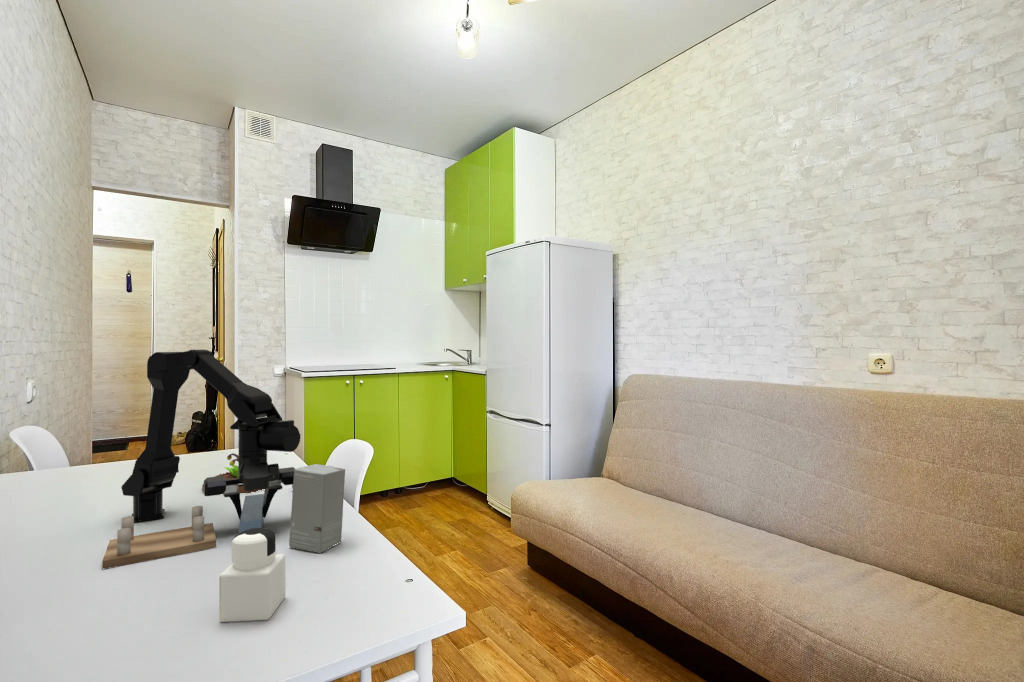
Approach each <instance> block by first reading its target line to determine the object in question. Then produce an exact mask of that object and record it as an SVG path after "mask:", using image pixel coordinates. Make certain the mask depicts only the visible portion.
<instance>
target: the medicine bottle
mask: <svg viewBox="0 0 1024 682" xmlns="http://www.w3.org/2000/svg"><path fill="white" fill-rule="evenodd" d="M276 535H277V533H276V532H275V531H274V530H273V529H271V528H267V527H262V528H253V529H248V530H245V531H242V532H241V533H239V532H238V533H237V534H235V535H234V537H233V538H232V539H231V565H229V566H228V567H227V568H226V569H225V570H224V571H223V572H222V573H221V574H219V622H221V623H232V622H233V623H234V622H252V621H268V620H270V618H271V617H272V616H273V614H275V611H276V610H277V609H278V608H279V606H280V605H281V604H282V602H283V601H284V599H285V597H286V554H285V553H276V548H277V545H276V542H277V541H276V540H277V539H276Z"/></svg>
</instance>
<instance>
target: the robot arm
mask: <svg viewBox="0 0 1024 682" xmlns="http://www.w3.org/2000/svg"><path fill="white" fill-rule="evenodd" d="M191 370H194V371H195V372H197V373H198V375H200V377H202V378H203V379H204V380H205V381H206V382H207V383H209V384H210V385H211V386H212V387H213V388H214V389H215V390H216V391H217V392H219V393H220V394H221V395H222V396H223V397H224V399H225V400H226V404H227V407H228V409H229V410H230V412H231V413H232V414H233V415H234V417H235V418H236V421H235V422H234V423H233V424H231V425H230V428H229V429H230V430H238V456H239V463H238V462H237V466H238V478H235V479H227V480H226V479H225V476H217V475H215V476H216V477H214V476H211V477H206V478H205V479H204V480H203V483H204V494H203V495H204V497H211V496H221V495H220V494H223V495H222V496H223V497H224V498H230V500H231V502H232V504H233V506H234V507H235V511H236V514H237V517H238V520H239V521H240V518H241V513H242V509H243V508H242V501H241V496H240V495H241V494H240V493H239V491H238V487H241V486H244V490H245V491H252V490H256V489H265V490H263V491H264V493H263V494H264V501H263V519H264V518H265V519H266V516H267V515H268V512H269V508H270V506H271V503H272V500H273V498H274V497H275V494H276V493H277V492H278V491H279V490H282V489H283V485H284V486H289V485H290V486H292V484H293V481H294V469H296V468H295V467H293V466H291V467H283V468H282V467H281V468H280V467H279V463H278V462H277V463H271V464H268V451H272V452H285V453H286V452H287V453H291V452H292V453H293V452H294V451H295V450H296V449H298V447H299V444H300V441H301V433H300V431H299V428H298V427H297V426H296V425H295V421H294V419H289V420H283V418H282V416H281V414H280V413H279V411H278V410H277V408H276V406H275V405H274V403H273V398H272V397H271V396H270V395H269V394H268V393H266V392H265V391H263V390H261V389H260V388H258V387H255V386H252V385H249V384H247V383H245V382H244V381H243V380H241V379H240V378H239V377H238V376H237V375H236V374H235V373H233V372H232V370H230V369H229V368H227V367H226V365H224V364H223V363H222V362H220V360H218V358H217V357H215V356H214V355H213V353H212V351H210V350H208V349H190V350H186V351H156V352H153V354H151V355H150V356H149V357H148V359H147V362H146V377H147V379H148V381H149V383H150V385H151V386H152V391H153V392H152V398H151V406H150V412H149V420H148V427H147V435H146V443H145V448H144V450H143V451H142V453H140V455H139V456H138V457H137V459H136V460H135V463H134V465H133V469H132V472H131V475H130V476H129V477H128V478H127V479H126V480H125V482H124V483H123V484H122V485H121V491H122V495H123V496H126V497H128V496H129V497H132V513H131V515H130V516H134V523H138V522H144V521H151V520H152V521H153V520H157V519H158V520H159V519H163V518H165V513H166V509H165V508H163V500H164V499H163V498H164V497H163V495H164V494H163V491H164V490H165V489H168V488H172V487H173V483H174V480H175V478H176V475H177V473H179V472H180V470H179V466H180V465H179V463H180V460H181V459H180V455H176V454H175V453H174V451H173V450H172V443H173V436H174V434H173V433H174V427H175V420H176V412H177V406H178V405H177V404H178V399H179V392H180V389H181V388H182V386H183V385H184V384H185V382H186V381H188V379H189V375H190V371H191ZM269 472H270V473H269ZM282 484H283V485H282Z"/></svg>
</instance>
